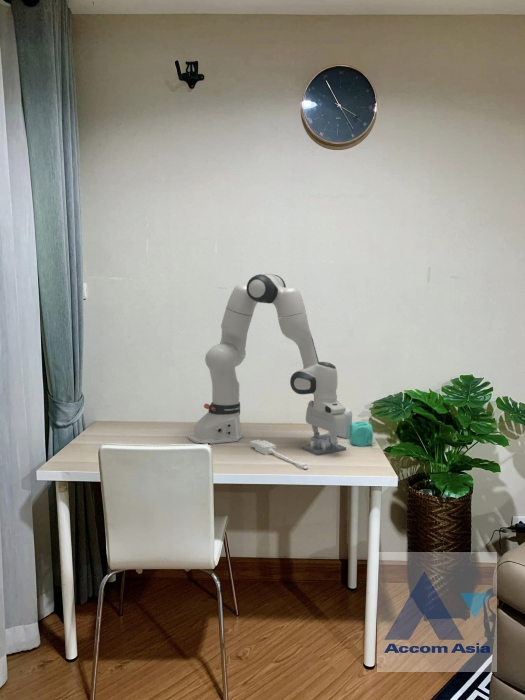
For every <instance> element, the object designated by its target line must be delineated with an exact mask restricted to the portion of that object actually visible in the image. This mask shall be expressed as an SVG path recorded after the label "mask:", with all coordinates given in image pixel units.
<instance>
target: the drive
mask: <svg viewBox="0 0 525 700" xmlns="http://www.w3.org/2000/svg"><path fill="white" fill-rule="evenodd" d="M310 438H311V441H314V446H313V448H314V449H317V450H322V447H323V442H325V443H326V449H327V448H333V447H335V442H334V443H330V442H329V438H331V434H329V433H326V434H319V435H318V436H314V435H313V436H310ZM335 440H338V436H336V438H335Z"/></svg>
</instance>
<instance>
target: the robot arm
mask: <svg viewBox="0 0 525 700" xmlns="http://www.w3.org/2000/svg"><path fill="white" fill-rule="evenodd" d="M259 303H261V304H262V303H263V304H270V305H271V304H272V305H274V307H275V309H276V313H277V318H278V319H277V320H278V324H279V325H278V326H279V328H280V331H281V333H282V335H283V336H284V337H286V338H287V339H290V340H292V342H294V344H296V346H297V348H298V350H299V354H300V358H301V361H302V366H303V368H302V369H299V370H297V371H296V372H294V373H293V374H291V377H290V380H289V382H290V383H289V384H290V385H289V386H290V388H291V389H292V391H293V392H294V393H295V394H298V395H311V394H312V395H313V400H310V401H309V402H308V403H307V407H306V411H305V413H306V414H305V421H306V424H309V425H311V428H312V429H311V430H312V432H313V436H318V435H321V434H320V431H319V429H322V430H325V431H328V432H329V431H330V432H331V438H329V442H330V443H334V442H335V438H336V436H337V434H340V433H343V432H344V431H345V415H344V412H345V410H346V409H347V408H346V407H345V406H344V405H343V404H341V402H340V401H339V400H338V395H337V390H338V389H337V388H338V370H337V368H336V366H335V365H334V364H332V363H331V362H327V361H326V362H325V361H319V357H318V354H317V351H316V347H315V346H316V345H315V343H314V342H315V341H314V339H313V336H312V333H311V329H310V325H309V320H308V314H307V312H306V310H307V309H306V307H305V302H304V299H303V297H302V295H301V291H300V290H299V289H298V288H296V287H294V286H293V287H292V286H286V283H285V280H284V279H283V278H282V277H281V276H279V275H276V274H273V273H272V274H271V273H264V274H255V275H254V276H252V277H251V278H250V279H249V280H248V281H247V283H238V284H237V285H235V286H234V287H233V290H232V292H231V294H230V296H229V298H228V301H227V305H226V307H225V311H224V314H223V318H222V321H221V325H220V328H221V339H220V343H218V344H216V345H213V346H211V348H209V350H208V351H207V352H206V354H205V355H204V356H205V358H204V361H205V365H206V366H207V368H208V369H209V374H210V378H211V379H210V380H211V388H212V391H211V392H212V393H211V395H212V397H211V398H212V402H211V403H210V404H209V403H204V405H203V409H206V410H208V411H207V412H206V413H205V414H204V415H203V416H202V417H201V418H200V419H199V420H198V421H196V422H195V424H194V429H193V433H189V434H188V439H189V440H190V441H191V442H193V443H196V444H199V443H205V444H204V445H210V444H211V445H213V444H223V443H225V444H226V443H234V442H239V441H240V439H242V438H243V437H244V436H243V435H244V434H243V431H242V427H241V419H240V414H241V402H240V382H239V381H238V379H237V372H236V367H238V366H240V365H241V363H243V362H244V360H245V358H246V346H247V339H248V338H247V337H248V332H249V329H250V326H251V322H252V319H253V315H254V311H255V309H256V307H257V304H259ZM345 408H346V409H345ZM318 428H319V429H318ZM337 437H338V436H337ZM208 443H210V444H208Z"/></svg>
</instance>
